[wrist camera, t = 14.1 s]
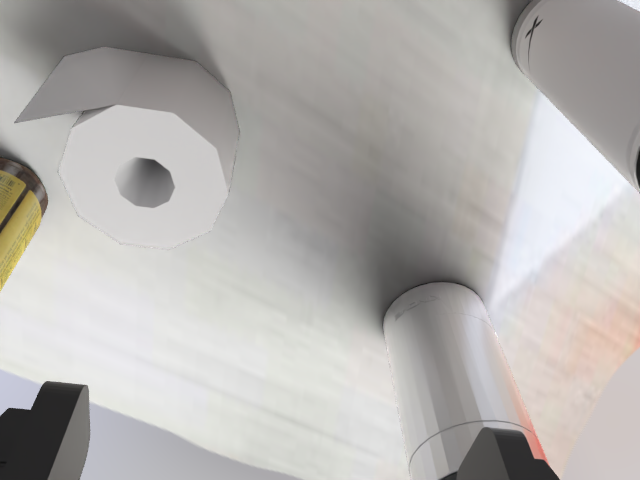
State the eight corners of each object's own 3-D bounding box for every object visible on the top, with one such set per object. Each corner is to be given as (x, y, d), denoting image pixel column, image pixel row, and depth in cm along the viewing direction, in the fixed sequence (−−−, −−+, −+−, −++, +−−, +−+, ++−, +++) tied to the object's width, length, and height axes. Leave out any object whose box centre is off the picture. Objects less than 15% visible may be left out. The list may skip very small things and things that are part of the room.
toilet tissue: (34, 35, 36) (-28, 83, 29) (246, 68, 38) (236, 121, 31) (48, 162, 41) (-3, 230, 34) (234, 187, 43) (223, 256, 36)
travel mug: (489, 25, 37) (647, 177, 20) (588, -41, 35) (851, 70, 18) (527, 101, 40) (691, 286, 23) (620, 45, 38) (871, 204, 21)
